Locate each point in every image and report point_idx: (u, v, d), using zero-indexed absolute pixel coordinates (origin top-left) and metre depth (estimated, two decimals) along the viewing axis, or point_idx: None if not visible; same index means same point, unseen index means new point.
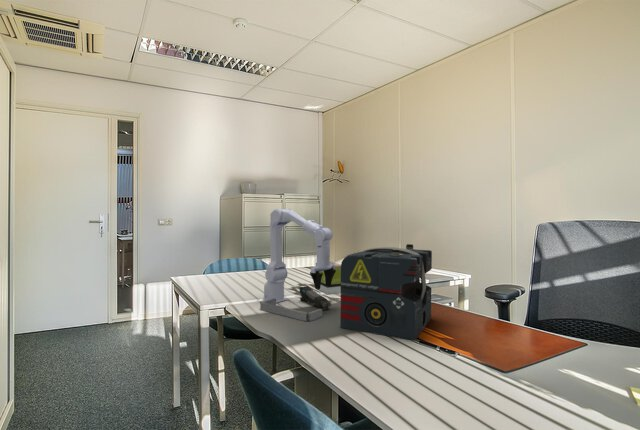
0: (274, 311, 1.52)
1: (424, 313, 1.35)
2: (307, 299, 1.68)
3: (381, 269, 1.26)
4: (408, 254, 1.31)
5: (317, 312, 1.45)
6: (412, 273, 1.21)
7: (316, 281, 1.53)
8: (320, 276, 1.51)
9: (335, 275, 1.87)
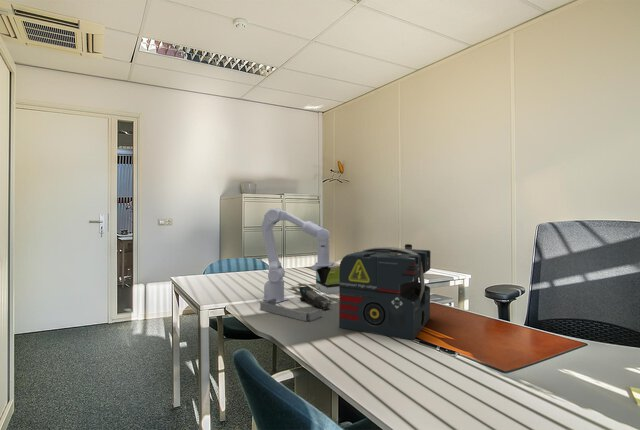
0: (274, 311, 1.52)
1: (423, 313, 1.36)
2: (307, 299, 1.68)
3: (379, 268, 1.26)
4: (407, 254, 1.32)
5: (317, 312, 1.45)
6: (411, 273, 1.21)
7: (321, 276, 1.70)
8: (325, 272, 1.69)
9: (335, 275, 1.87)
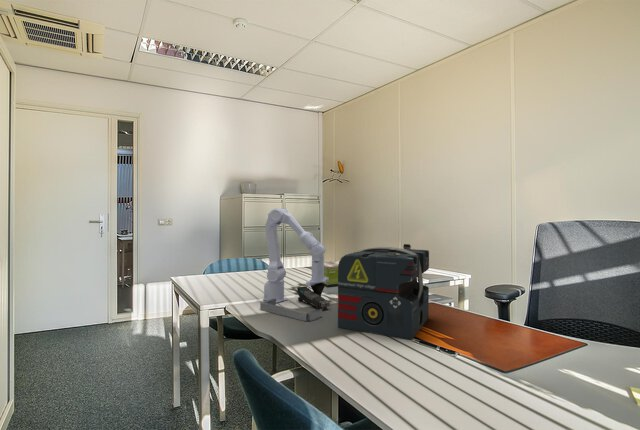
0: (274, 311, 1.52)
1: (421, 313, 1.36)
2: (305, 299, 1.67)
3: (377, 268, 1.27)
4: (405, 254, 1.32)
5: (317, 312, 1.45)
6: (409, 272, 1.22)
7: (316, 292, 1.67)
8: (320, 288, 1.65)
9: (335, 275, 1.87)
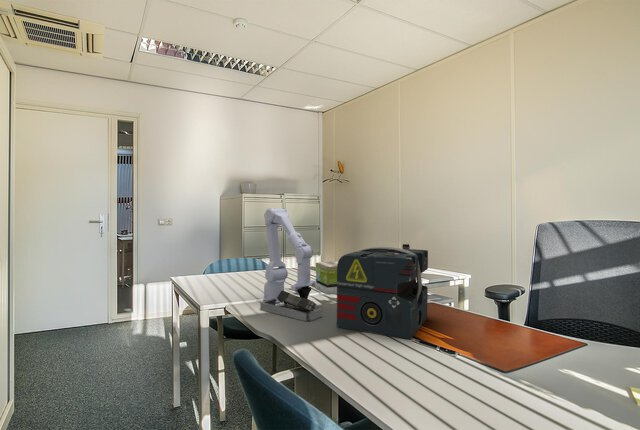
0: (274, 311, 1.52)
1: (420, 312, 1.36)
2: (291, 304, 1.60)
3: (376, 268, 1.27)
4: (404, 254, 1.32)
5: (317, 312, 1.45)
6: (407, 272, 1.22)
7: (302, 296, 1.60)
8: (306, 292, 1.58)
9: (335, 275, 1.87)
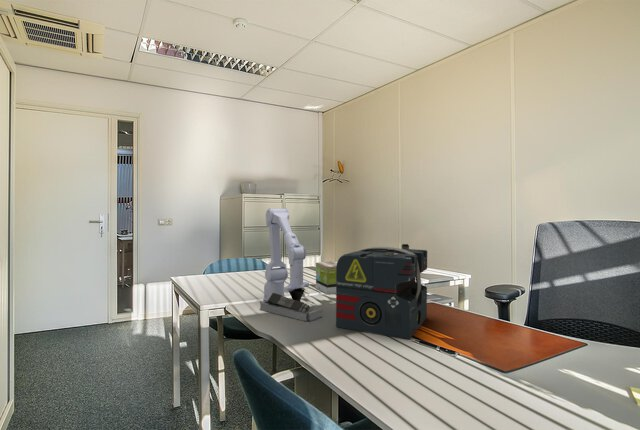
0: (274, 311, 1.52)
1: (419, 312, 1.36)
2: None
3: (375, 268, 1.27)
4: (403, 254, 1.32)
5: (317, 312, 1.45)
6: (407, 272, 1.22)
7: (295, 299, 1.56)
8: (298, 294, 1.54)
9: (335, 275, 1.87)
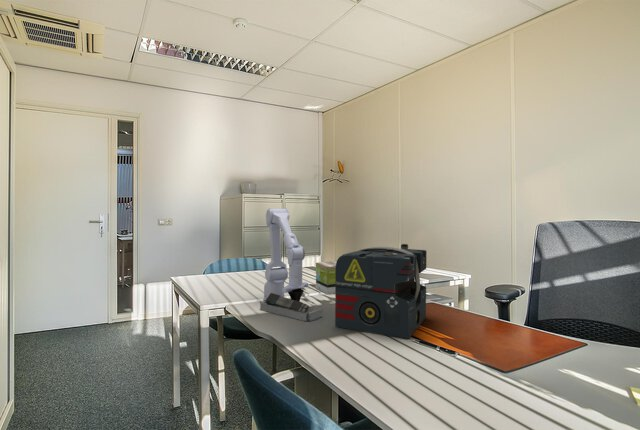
0: (274, 311, 1.52)
1: (418, 312, 1.37)
2: None
3: (375, 268, 1.27)
4: (402, 254, 1.32)
5: (317, 312, 1.45)
6: (406, 272, 1.22)
7: (293, 299, 1.55)
8: (297, 294, 1.53)
9: None
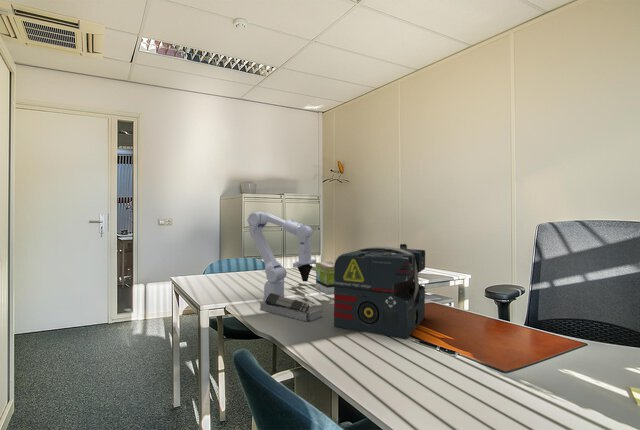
0: (274, 311, 1.52)
1: (417, 312, 1.37)
2: None
3: (373, 268, 1.28)
4: None
5: (317, 312, 1.45)
6: (404, 272, 1.22)
7: (303, 274, 1.67)
8: (306, 269, 1.65)
9: None
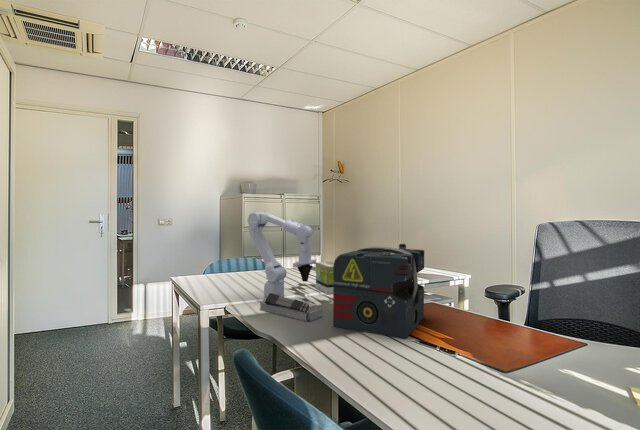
0: (274, 311, 1.52)
1: (416, 312, 1.37)
2: None
3: (372, 268, 1.28)
4: (400, 253, 1.33)
5: (317, 312, 1.45)
6: (403, 272, 1.23)
7: (303, 274, 1.67)
8: (306, 269, 1.65)
9: None
